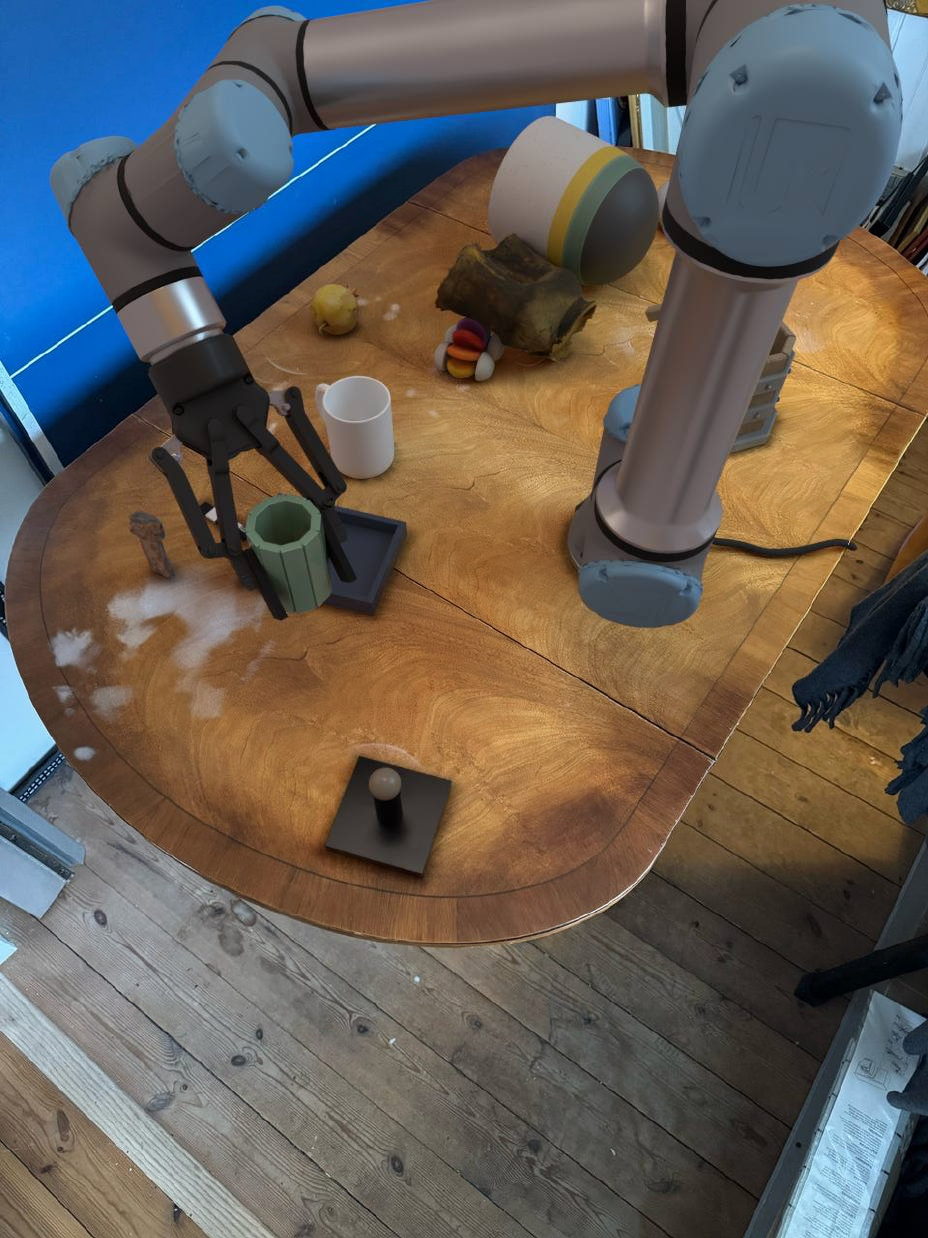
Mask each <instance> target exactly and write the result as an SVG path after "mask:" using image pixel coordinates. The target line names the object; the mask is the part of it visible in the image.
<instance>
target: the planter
mask: <svg viewBox="0 0 928 1238" xmlns="http://www.w3.org/2000/svg"><path fill="white" fill-rule="evenodd" d="M657 191H658V190H657V188H656V185H655V183H654V180H653V178H652V177H651V175H650V173H649V172H648V171H647V169H646V168H644V166H643V165H642V164H641V163H640V162H639V161H637V160H636V159H635V158H634V157H633V156H631V155H630V154H629V153H627V152H625V151H624V150H622V149H620V148H618V147H616V146H615V145H613V144H611V143H609V142H608V141H606V140H603V139H602V138H600V137H598V136H596V135H595V134H592V133H589V132H587V131H586V130H584V129H582V128H580V127H578V126H575V125H573V124H571V123H570V122H567V121H565V120H564V119H561V118H559V117H557V116H553V115H545V116H542V117H539V118H537V119H535V120H534V121H532V122H531V123H529V124H528V125H527V126H526V127H525V128H524V129H523V130H522V131H521V132H520V133H519V134H518V136H517V137H516V138H515V140H514V141H513V142H512V144H511V145H510V147H509V148H508V150H507V152H506V153H505V155H504V158H503V159H502V160H501V163H500V165H499V168H498V170H497V172H496V175H495V178H494V181H493V184H492V188H491V190H490V195H489V201H488V206H487V207H488V208H487V225H488V232H489V235H490V236H491V237H490V238H491V239H492V241H493V242H494V243H495V245H496V246H497V245H498V244H499V242H500V241H502V240H503V238H505V237H506V236H509V235H510V234H512V233H514V234H517V236H518V237H520V240H521V242H522V243H524V244H525V245H526V246H527V247H528V248H530V249H531V250H532V251H534V252H535V253H536V254H538V255H539V256H541V257H542V258H544V259H545V260H547V261H548V262H550V263H552V264H553V265H555V266H557V267H559V268H566V269H569V270H571V271H572V272H573V273H574V274H575V275H576V277H577V279H578V281H579V283H580V285H581V286H585V287H602V286H605V285H609V284H612V283H615V282H617V281H619V280H621V279H623V278H624V277H626V276H628V275H629V274H630V273H631V272H633V271H634V270H635V269H636V268H637V267H638V266H639V265H640V263H641V262H642V261H643V259H644V258H645V256H646V255H647V254H648V252H649V250H650V248H651V246H652V244H653V242H654V239H655V237H656V234H657V232H658V227H659V201H658V195H657Z"/></svg>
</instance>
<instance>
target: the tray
mask: <svg viewBox="0 0 928 1238" xmlns="http://www.w3.org/2000/svg"><path fill="white" fill-rule="evenodd" d="M282 494H283V493H282V492H278V494H277V495H276V496H278V495H282ZM284 494H285V495H286V496H287V494H288V493H284ZM334 507H335V510H336V512H337V514H338V516H339V518H340V520H341V522H342V524H343V527H344V529H345V531H346V533H347V539H348V540H346V541H345V542H343V543H341V544H340V545H341V547H342V549H343V551H344V553H345V555H346V557H347V559H348V561H349V563H350V565H351V567H352V569H353V571H354V573H355V575H356V577H357V580H355V581H353V582H351V583H347V582H341V580H340V578H339V576H338V574H337V572H336V570H335V568H334V566H333V564H332V562H331V560H330V558H329V561H330V566H331V572H332V577H333V578H332V592H331V593H330V596H329V597H328V598H327V599H326V600H325V601H324V602H323V603H322V604H321V605H327V606H331V607H335V608H338V609H342V610H347V611H351V612H354V613H355V612H356V613H359V614H363V615H367V616H371V617H374V616H375V614H376V611H377V609H378V606H379V605H380V602H381V600H382V597H383V595H384V592H385V590H386V587H387V585H388V582H389V580H390V578H391V575H392V574H393V571H394V568H395V565H396V563H397V561H398V558H399V556H400V553H401V551H402V549H403V546H404V545H405V542H406V540H407V537H408V528H407V521H404V520H400V519H399V520H398V519H395V518H391V517H386V516H383V515H378V514H374V513H369V512H364V511H361V510H356V509H352V508H347V507H343V506H339V505H335V506H334ZM248 549H250V547H248Z"/></svg>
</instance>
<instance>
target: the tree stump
mask: <svg viewBox="0 0 928 1238" xmlns="http://www.w3.org/2000/svg"><path fill="white" fill-rule="evenodd" d="M436 294H437V295H436V296H437V297H436V299H435V302H434V304H435V306H434V307H435V308H436V309H440V311H441V312H445V311H451V312H452V313H454V314H455V315H459V316H461V317H463V318H465V317H467V318H470V319H473V320H475V321H477V322H478V323H479V324H481V325H483V326H485V327H486V328H487V329H489V330H491V333H495V334H496V335H497V336H498V337H499V339H500V342H501V343H502V344H503V345H504V347H505V346H506V347H508V348H511V349H513V350H517V351H521V352H523V351H524V352H526V353H528V355H529V356H532V357H535V358H536V357H537V358H538V357H541V358H542V357H545V358H548V359H550V360H551V361H552V363H554V364H558V362H559V361H560V360H562V359H564V358H565V357H566V356H568V354H569V353H570V348H571V345H572V343H573V342H572V340H571V339H572V336H573V335H575V334H577V333H580V332H583V329H585V327H586V325H587V322H588V320H591V319H593V318H594V315H595V314H596V309H597V308H598V307H597V306H598V301H597V300H590V301H588V300H585V297H584V292H583V288H582V285H580V283H579V281H578V279H577V277H576V275H575V274H574V273H573V272H572V271H571V270H569V269H566V268H559V267H557V266H555V265H553V264H552V263H550V262H548V261H547V260H545V259H544V258H542V257H541V256H539V255H538V254H536V253H535V252H534V251H532V250H531V249H530V248H528V247H527V246H526V245H525V244H524V243H522V242H521V240H520V237H518V236H517V234H514V233H512V234H510V235H509V236H506V237H505V238H503V240H502V241H500V242H499V244H498V245H497V244H496V246H495V247H494V248H492V249H482V247H481V246H480V245H479V243H478V242H476V241H475V242H473V243H472V244H468V245H465V246H463V247H462V248H461V250H460V251H459V252H458V253H457V255H456V258H455V263H454V265H453V266H452V267H450V268H448V273H447V274H446V276H445V277H444V278H443V279H442V281H441V282H439V286H438V288H437V290H436Z"/></svg>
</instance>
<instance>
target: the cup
mask: <svg viewBox="0 0 928 1238" xmlns="http://www.w3.org/2000/svg"><path fill="white" fill-rule="evenodd" d="M314 396H315V399H314V400H315V405H316V409H317V411H318V414H319V417H320V419H321V420H322V422H323V423H324V424H325V426H326V433H327V438H328V439H327V440H328V445H329V453H330V456H331V458H332V460H333V462H334V463H335V465H336V467H337V468H338V470H339V472H340V474H343V475H345V476H347V477H348V478H352V479H358V480H366V479H372V478H375V477H378V476H381V475H382V474H383V473H385V472H386V471H387V470H388V469H389V468H390V466H391V465H392V463H393V461H394V458H395V441H394V439H395V438H394V424H393V412H392V399H391V393H390V390H389V389H388V387H387V386H386V385H385V384H383V382H381V381H380V380H377V379H375V378H373V377H370V376H365V375H354V376H347V377H344V378H341V379H338V380H336V381H334V382H333V383H332V384H331V385H329V384H327V383H324V382H323V383H319V384H318V385H317V386H316V387H315V393H314Z"/></svg>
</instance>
